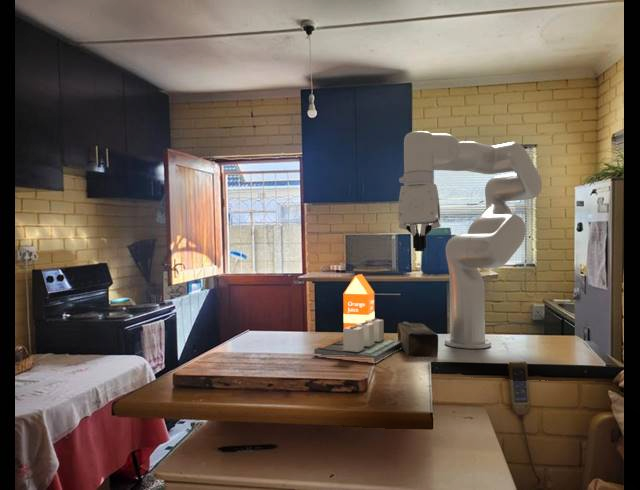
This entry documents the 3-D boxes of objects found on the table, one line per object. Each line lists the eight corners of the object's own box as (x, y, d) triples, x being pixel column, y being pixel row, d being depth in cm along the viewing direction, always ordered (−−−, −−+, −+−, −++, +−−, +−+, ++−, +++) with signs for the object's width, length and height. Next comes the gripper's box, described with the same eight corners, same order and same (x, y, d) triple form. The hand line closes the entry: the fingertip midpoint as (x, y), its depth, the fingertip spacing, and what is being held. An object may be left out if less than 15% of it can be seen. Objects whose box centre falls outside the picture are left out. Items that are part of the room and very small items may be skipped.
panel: (346, 343, 136) (346, 335, 136) (401, 348, 128) (401, 340, 128) (314, 356, 119) (314, 347, 119) (375, 364, 111) (375, 354, 111)
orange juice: (375, 338, 142) (374, 273, 142) (369, 344, 134) (368, 275, 134) (350, 337, 145) (349, 273, 145) (343, 343, 136) (342, 275, 136)
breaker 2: (370, 338, 131) (370, 317, 131) (383, 339, 129) (383, 318, 129) (365, 340, 128) (365, 319, 128) (379, 341, 126) (378, 320, 126)
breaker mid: (360, 342, 125) (360, 321, 125) (374, 344, 123) (374, 322, 123) (355, 345, 122) (355, 323, 122) (369, 346, 120) (369, 324, 120)
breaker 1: (349, 347, 119) (349, 325, 119) (363, 349, 117) (363, 326, 117) (343, 350, 116) (343, 327, 116) (358, 352, 114) (357, 328, 114)
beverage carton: (424, 342, 137) (424, 320, 137) (439, 358, 117) (439, 332, 117) (397, 342, 137) (397, 320, 137) (408, 358, 117) (408, 332, 118)
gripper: (386, 180, 120) (387, 251, 120) (444, 176, 113) (445, 251, 113) (396, 184, 127) (397, 251, 126) (451, 180, 119) (452, 250, 119)
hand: (419, 251), depth 120 cm, fingers closed
